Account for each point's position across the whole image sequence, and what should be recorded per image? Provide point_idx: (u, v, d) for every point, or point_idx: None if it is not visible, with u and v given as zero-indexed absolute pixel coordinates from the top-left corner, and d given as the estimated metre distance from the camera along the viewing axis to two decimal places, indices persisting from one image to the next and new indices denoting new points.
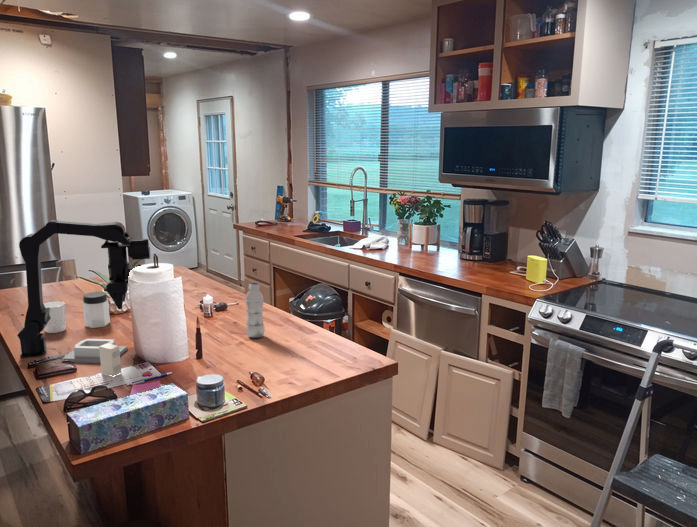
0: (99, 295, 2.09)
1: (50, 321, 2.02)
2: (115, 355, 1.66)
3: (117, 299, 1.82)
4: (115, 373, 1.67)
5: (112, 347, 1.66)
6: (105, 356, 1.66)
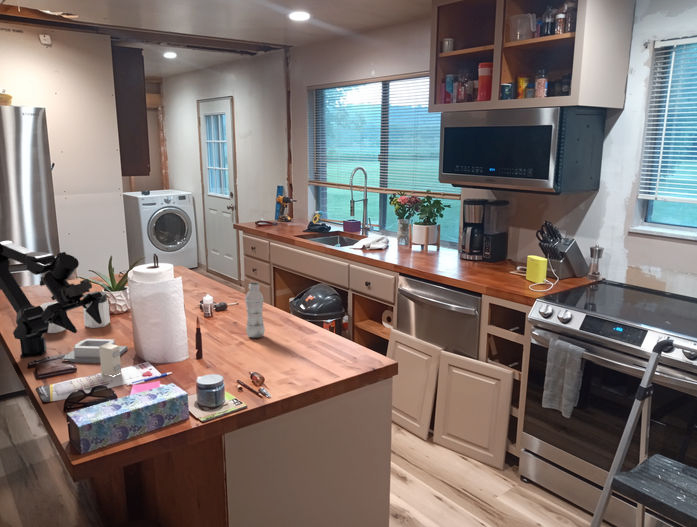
0: None
1: None
2: (115, 355, 1.66)
3: (64, 324, 1.66)
4: (115, 373, 1.67)
5: (112, 347, 1.66)
6: (105, 356, 1.66)
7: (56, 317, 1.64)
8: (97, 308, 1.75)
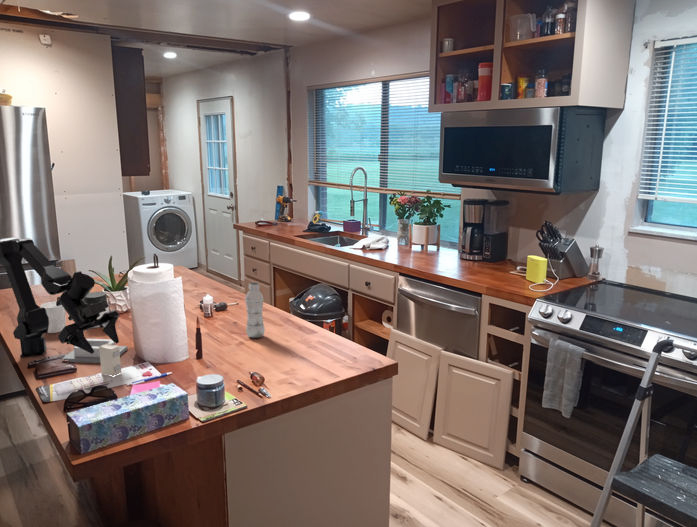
0: (99, 295, 2.09)
1: (50, 321, 2.02)
2: (115, 355, 1.66)
3: (81, 344, 1.63)
4: (115, 373, 1.67)
5: (112, 347, 1.66)
6: (105, 356, 1.66)
7: (73, 338, 1.62)
8: (114, 327, 1.73)
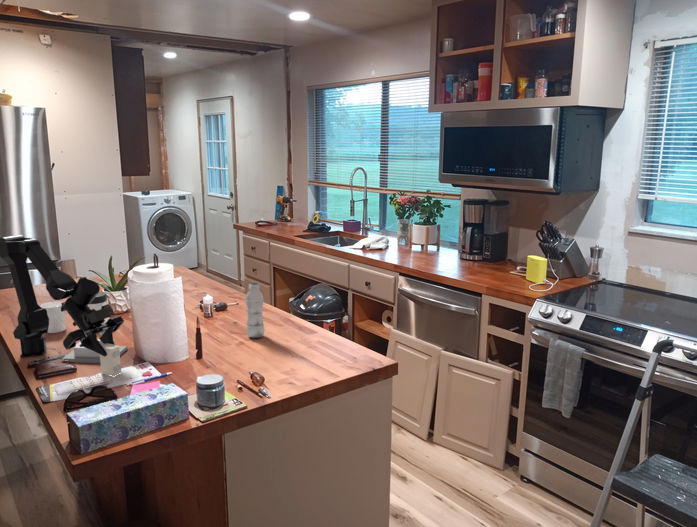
0: (99, 295, 2.09)
1: (50, 321, 2.02)
2: (115, 355, 1.66)
3: (94, 347, 1.66)
4: (115, 373, 1.67)
5: (112, 347, 1.66)
6: (105, 356, 1.66)
7: (86, 341, 1.64)
8: (111, 336, 1.70)
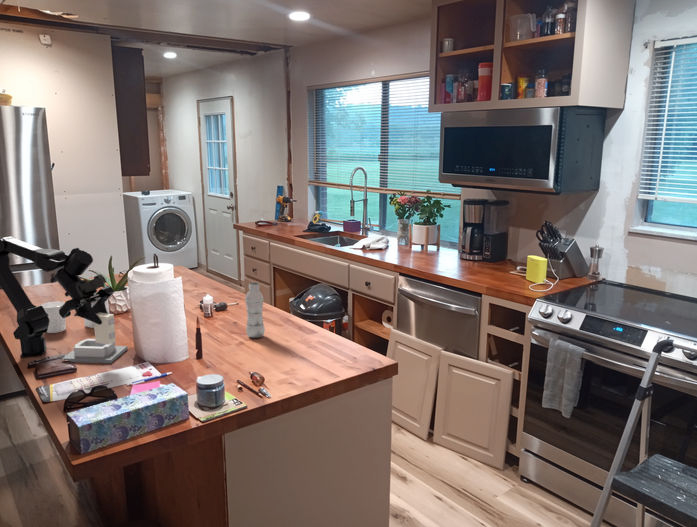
0: None
1: (50, 321, 2.01)
2: (110, 323, 1.71)
3: (89, 316, 1.70)
4: (110, 341, 1.72)
5: (107, 315, 1.71)
6: None
7: (81, 309, 1.68)
8: (104, 305, 1.75)
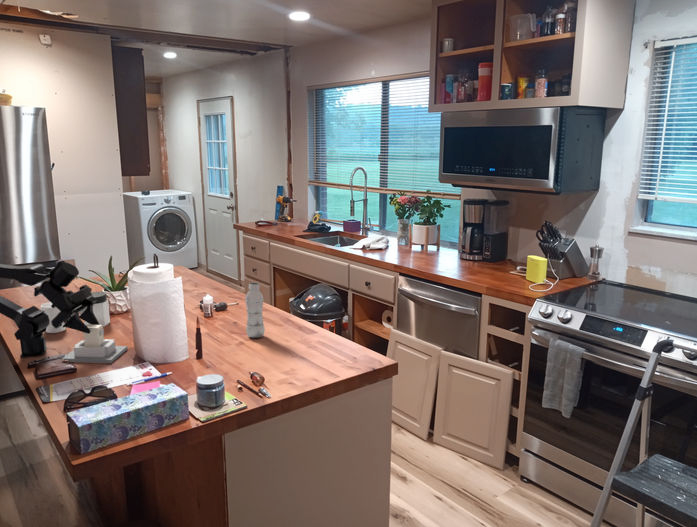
0: (99, 295, 2.09)
1: (50, 321, 2.02)
2: (101, 333, 1.80)
3: (77, 326, 1.76)
4: None
5: (97, 326, 1.80)
6: (90, 335, 1.80)
7: (70, 320, 1.74)
8: (92, 313, 1.84)
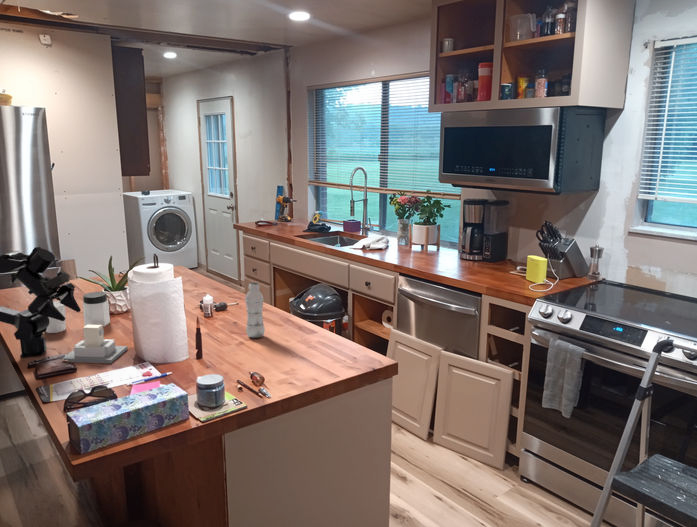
0: (99, 295, 2.09)
1: (50, 321, 2.02)
2: (101, 333, 1.80)
3: (52, 314, 1.74)
4: None
5: (97, 326, 1.80)
6: (90, 335, 1.80)
7: (44, 308, 1.72)
8: (73, 298, 1.85)
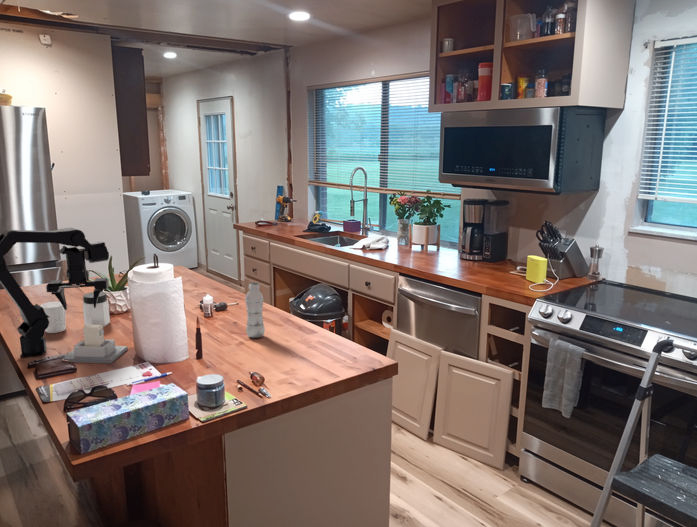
0: (99, 295, 2.09)
1: (50, 321, 2.02)
2: (101, 333, 1.80)
3: None
4: None
5: (97, 326, 1.80)
6: (90, 335, 1.80)
7: None
8: None
